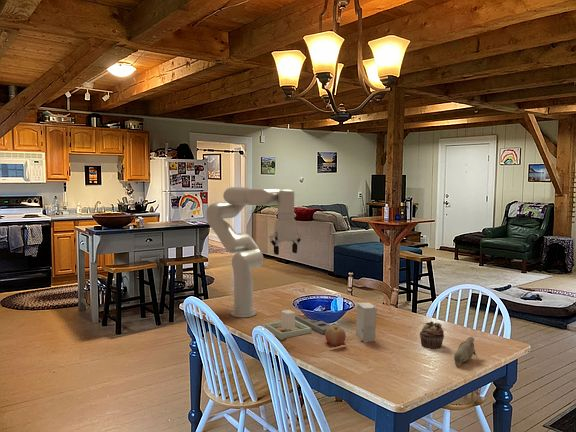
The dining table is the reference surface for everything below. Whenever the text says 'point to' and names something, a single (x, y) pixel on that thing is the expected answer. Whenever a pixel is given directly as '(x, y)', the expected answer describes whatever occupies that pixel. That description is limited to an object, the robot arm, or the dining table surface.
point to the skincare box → (366, 321)
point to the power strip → (313, 323)
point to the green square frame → (283, 335)
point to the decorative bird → (464, 351)
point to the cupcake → (432, 336)
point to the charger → (288, 320)
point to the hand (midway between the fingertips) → (285, 253)
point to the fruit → (335, 335)
